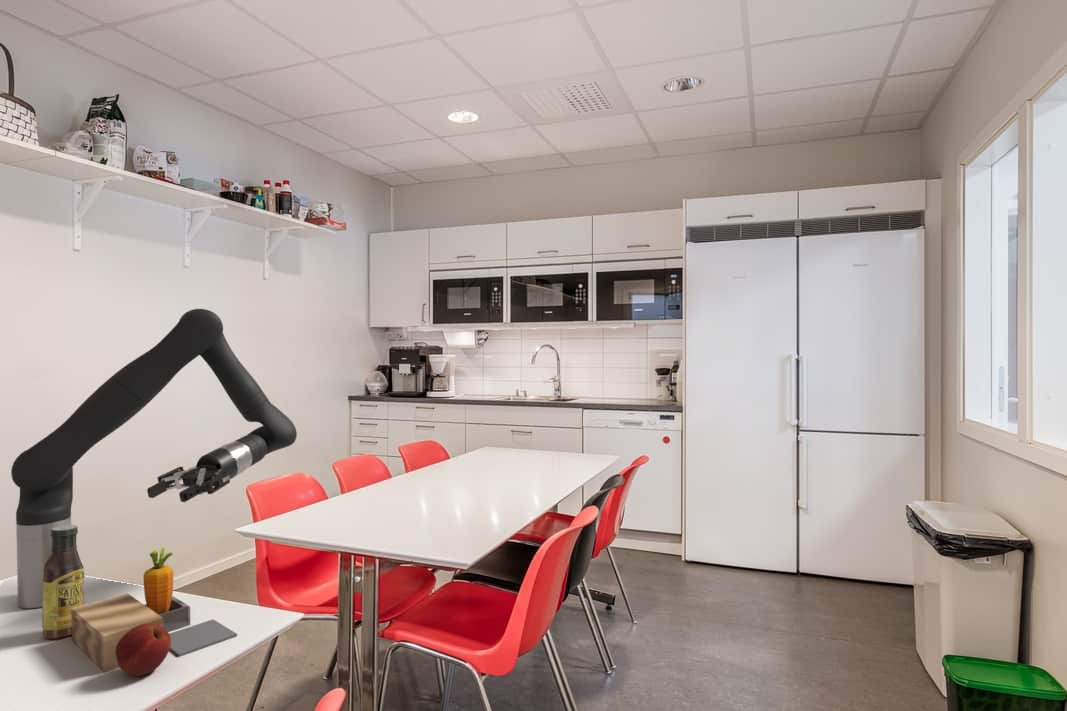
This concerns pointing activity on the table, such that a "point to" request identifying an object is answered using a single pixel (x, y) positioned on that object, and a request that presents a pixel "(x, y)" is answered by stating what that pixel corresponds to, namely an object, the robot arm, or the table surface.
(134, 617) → the wooden drawer box
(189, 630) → the rubber mat
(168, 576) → the carrot
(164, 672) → the table surface
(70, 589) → the sauce bottle
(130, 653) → the apple
